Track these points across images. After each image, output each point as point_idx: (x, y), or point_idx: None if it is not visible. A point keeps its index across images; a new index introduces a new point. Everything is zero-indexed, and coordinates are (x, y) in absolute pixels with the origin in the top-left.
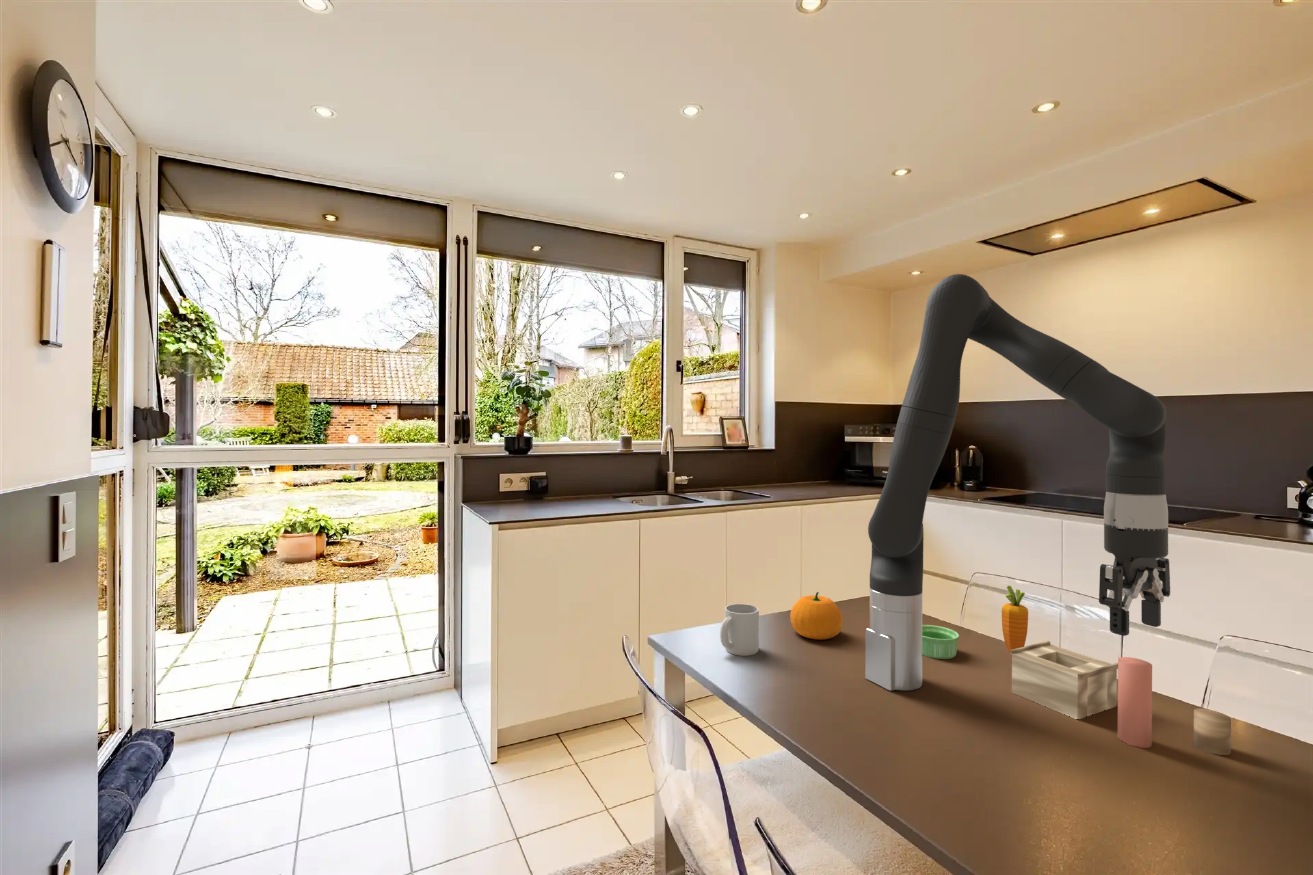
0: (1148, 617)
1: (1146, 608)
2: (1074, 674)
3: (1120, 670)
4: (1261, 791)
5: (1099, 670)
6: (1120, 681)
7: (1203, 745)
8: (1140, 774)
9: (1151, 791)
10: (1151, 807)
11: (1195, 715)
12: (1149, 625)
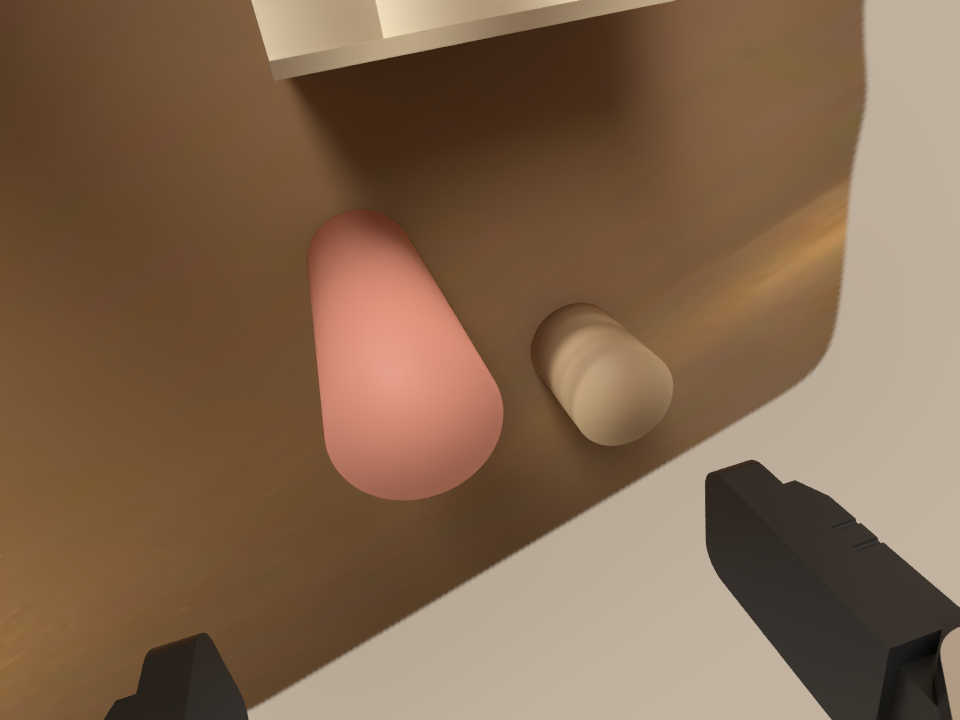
0: (749, 554)
1: (810, 612)
2: (285, 14)
3: (325, 377)
4: (446, 531)
5: (492, 36)
6: (321, 347)
7: (537, 361)
8: (165, 442)
9: (113, 517)
10: (35, 578)
11: (580, 375)
12: (705, 510)
